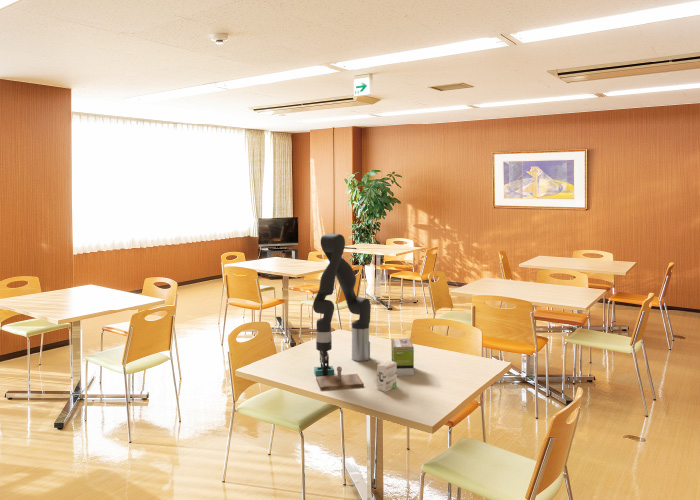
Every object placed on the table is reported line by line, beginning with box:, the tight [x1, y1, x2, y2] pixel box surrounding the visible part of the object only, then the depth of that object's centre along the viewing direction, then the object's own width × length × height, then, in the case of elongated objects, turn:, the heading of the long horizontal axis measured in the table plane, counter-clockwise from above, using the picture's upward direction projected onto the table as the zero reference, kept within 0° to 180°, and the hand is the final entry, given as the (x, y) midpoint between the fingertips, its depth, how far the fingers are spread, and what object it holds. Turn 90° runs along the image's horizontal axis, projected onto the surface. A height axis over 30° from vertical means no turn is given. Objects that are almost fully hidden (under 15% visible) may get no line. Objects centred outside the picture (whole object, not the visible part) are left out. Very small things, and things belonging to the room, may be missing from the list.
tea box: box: [390, 338, 415, 377], centre depth 272 cm, size 15×10×15 cm
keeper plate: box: [315, 366, 365, 391], centre depth 254 cm, size 20×14×8 cm
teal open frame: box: [313, 365, 335, 378], centre depth 267 cm, size 9×6×3 cm, turn 102°
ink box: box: [376, 360, 398, 392], centre depth 248 cm, size 9×5×12 cm, turn 137°
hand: (324, 373), depth 267 cm, fingers open, 6 cm apart
